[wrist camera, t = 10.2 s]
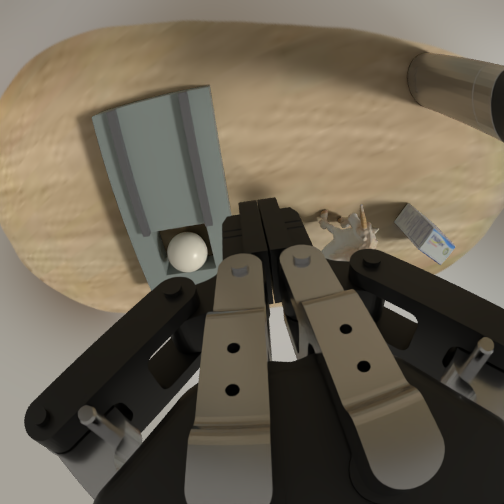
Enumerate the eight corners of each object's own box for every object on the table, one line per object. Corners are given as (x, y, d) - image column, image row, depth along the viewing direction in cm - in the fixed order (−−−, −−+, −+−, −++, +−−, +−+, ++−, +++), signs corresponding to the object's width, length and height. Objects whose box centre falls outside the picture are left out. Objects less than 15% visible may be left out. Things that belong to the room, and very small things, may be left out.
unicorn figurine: (365, 177, 43) (408, 220, 32) (317, 274, 53) (338, 331, 42) (324, 162, 41) (361, 204, 30) (280, 267, 52) (295, 327, 41)
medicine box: (392, 221, 48) (417, 249, 41) (407, 201, 46) (434, 227, 39) (417, 238, 51) (440, 266, 44) (431, 220, 49) (456, 247, 42)
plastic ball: (213, 254, 48) (200, 220, 45) (212, 273, 43) (197, 236, 40) (179, 264, 48) (164, 232, 46) (174, 284, 43) (157, 249, 40)
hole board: (209, 85, 33) (208, 87, 30) (241, 270, 51) (243, 288, 47) (101, 112, 33) (88, 118, 30) (156, 282, 51) (152, 300, 47)
